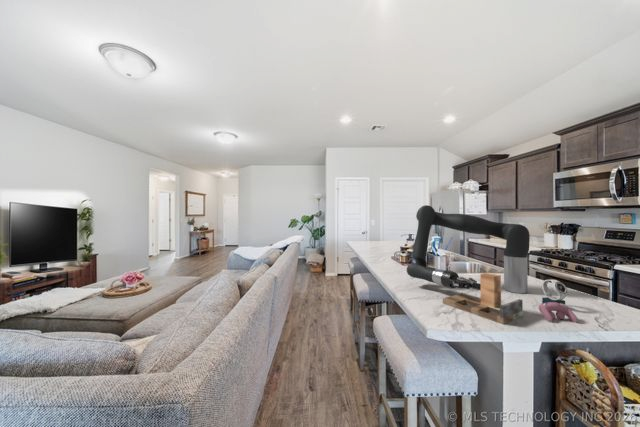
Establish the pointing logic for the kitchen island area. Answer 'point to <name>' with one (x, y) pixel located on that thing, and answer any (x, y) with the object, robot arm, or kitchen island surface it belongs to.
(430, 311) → the kitchen island surface
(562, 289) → the watch
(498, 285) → the block
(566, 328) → the kitchen island surface
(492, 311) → the board
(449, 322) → the kitchen island surface
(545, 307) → the pink arched figurine
